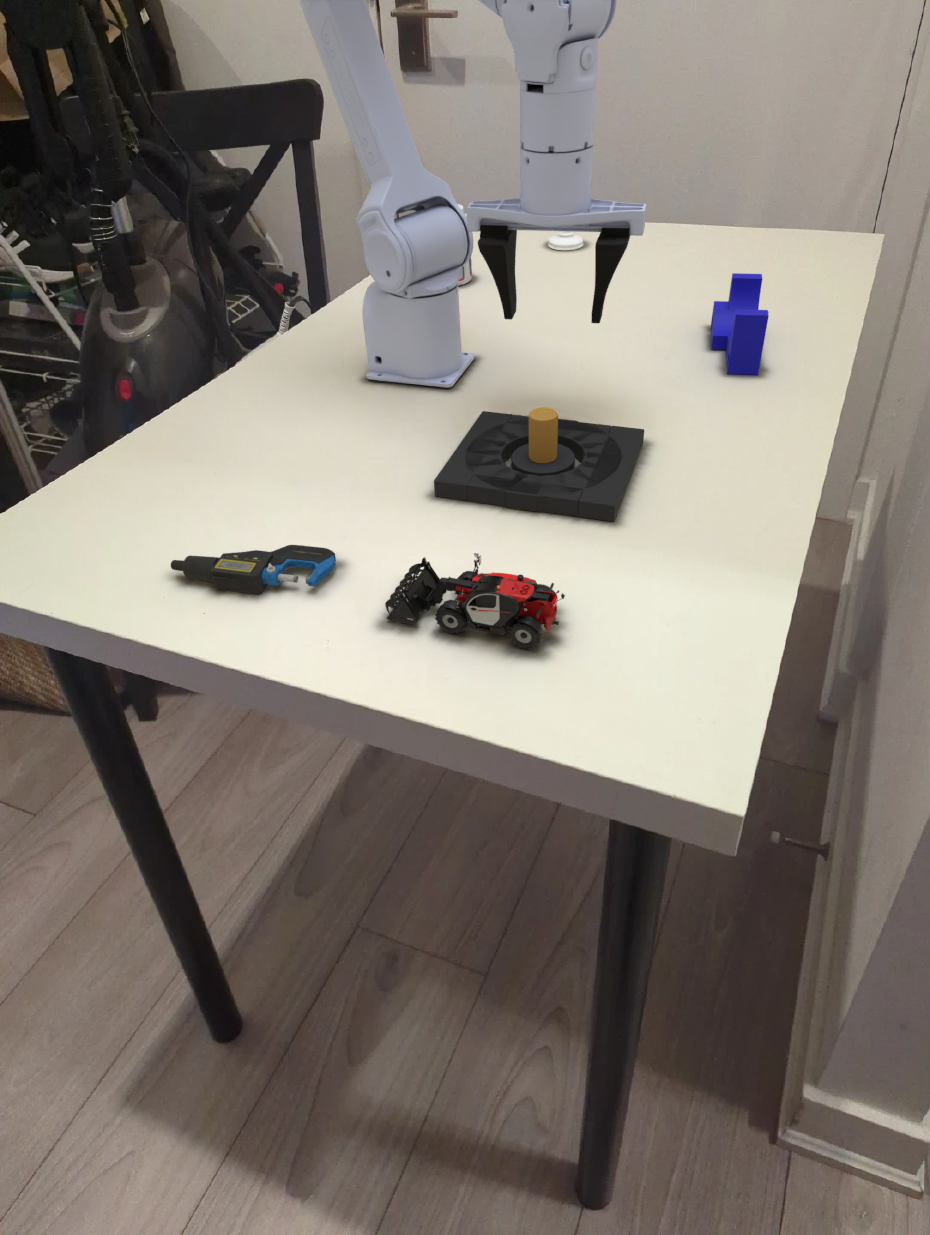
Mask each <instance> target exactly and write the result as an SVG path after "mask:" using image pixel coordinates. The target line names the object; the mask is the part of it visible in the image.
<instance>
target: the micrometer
mask: <svg viewBox="0 0 930 1235" xmlns="http://www.w3.org/2000/svg"><path fill="white" fill-rule="evenodd" d="M336 562H337V558H336V553H335V551H333V550H332V549H329V548H327V547H320V546H310V545H301V544H288V545H285V546H283V547H279V548H277V549H275V550H272V551H266V550H257V549H254V550H247V551H238V552H225V553H222V554H221V555H220V557H219V556H218V557H217V556H203V555H187V556H186V557H185V558H184V559H182V560H181V559H173V560H171V563H170V569H171V570H173V571H178V572H182V573H183V575H184V576H185V578H187V579H193V580H198V581H203V582H207V583H208V582H209V583H213V586H215V589H216V590H221V591H229V592H238V593H245V594H253V595H260V594H263V592H264V591H265V589H266V587H267V586H268V585H269V586H276V587H277V586H279V585H281V583H282V582H288V583H296V584H297V583H298V582H299V576H298V575H295V574H286V573H285V572H286V571H287V570H288V569H290V568H302V569H309V570H313V571H312V573H311V574H310V576H307V577H305V584H306V585H307V586H308V587H314V588H317V587H318V585H319V584H320V583H321V581H323V580H324V579H325V578H327V577H328V576H329V575H330V574H332V573H333V572H334V570H336V564H337V563H336Z"/></svg>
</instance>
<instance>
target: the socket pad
mask: <svg viewBox="0 0 930 1235" xmlns="http://www.w3.org/2000/svg"><path fill="white" fill-rule="evenodd" d="M644 438H645V429H644V428H639V427H638V428H637V427H630V426H629V427H628V426H619V425H610V424H601V423H593V422H584V421H578V420H574V419H566V418H558V438H557V444H561V445H564V446H566V447H568V448H569V449H570V450H571V451H572V452H573V453H574V456H575V459H577V460H579V461H580V462H581V463H580V464H578V465H577V466H575V467H574V469H573V470H570V471H567V472H563V473H560V474H557V475H544V476H538V475H530V474H523V473H520V472H518V471H515V470H513V469H511V467H510V466H508V465H507V464H506V463H505V462H506V461H507V460H508V459H511V456H512V454H513V452H514V451H515V450H516V449H517V448H519V447H521V446H523V445H526V444H529V415H522V414H521V415H520V414H512V413H505V412H497V411H486V410H483V411H481V413H480V414H479V416H477V418H476V419H475V421H474V423H473V424H472V426H471V427H470V428H469V430H468V431H467V433H465V436H464V437H463V439H462V440H461V441H460V442H459V444H458V446H457V447H456V449H455V450H454V451H453V452H452V454H451V455H450V457H449V458H448V460H447V461H446V462H445V464H444V466H443V467H442V468H441V470H440V471H439V472H438V474H437V476H436V477H435V479H433V487H434V488H433V489H434V497H439V498H444V499H453V500H459V501H466V502H467V501H468V502H473V503H479V504H485V505H493V506H500V507H504V508H508V509H509V508H510V509H514V510H515V509H517V510H522V511H529V512H537V513H538V512H540V513H547V514H548V513H551V514H556V515H564V516H571V517H579V518H587V519H593V520H599V521H607V522H615V520H616V517H617V514H618V512H619V509H620V506H621V504H622V501H623V498H624V497H625V494H626V490H627V488H628V486H629V482H630V480H631V478H632V475H633V472H634V470H635V466H636V463H637V461H638V459H639V456H640V453H641V452H642V449H643V445H644V440H645V439H644Z"/></svg>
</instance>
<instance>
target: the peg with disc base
mask: <svg viewBox="0 0 930 1235" xmlns="http://www.w3.org/2000/svg"><path fill="white" fill-rule="evenodd" d="M528 416H529V444H526V445H523V446H521V447H519V448H517V449H516V450H515V451H514V452H513V454H512V456H511V457H510V469H513V470H515V471H518V472H520V473H523V474H530V475H538V476H544V475H557V474H560V473H563V472H567V471H570V470H573V469H574V468H575V463H576V462H575V461H576V457H575V456H574V453H573V452H572V451H571V450H570V449H569V448H568V447H566V446H564V445H561V444H557V438H558V419H559V413H558V411H557V410H556V409H555V408H552V407H547V406H546V407H542V406H541V407H536V408H533V409H532V410H530V411H529V413H528Z"/></svg>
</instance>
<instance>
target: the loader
mask: <svg viewBox="0 0 930 1235" xmlns="http://www.w3.org/2000/svg"><path fill="white" fill-rule="evenodd" d="M473 556H474V557H475V558H476V559H473V563H474V567H473V570H465V571H463V572H462V573H461V574H460V575H459V576H457V578H455V577H451V576H448V577H442V576H441V577H439V575H438V574H437V572H436V571H435V570H434V568H433V567H432V565H431V562H430V561H427V558H426V556H424V557H423V558H422V559H421V562H420V563H419V562H418V563H415V564H413V565H412V566H410V567H409V568H408V572H406V573H405V574H404V577H403V579H401V580H400V582H399V584H398V586H396V587H395V589H394V592H392V593H391V594H390V597H389V599H387V600H386V602H385V609H386V611H387V613H388V615H387V617H386V620H389V621H392V620H393V621H396V622H400V623H402V624H407V625H414V624H415V623H416V622H417V621H418V620H419V617H420V614H421V613H422V612H428V611H430V610H431V607H432V606H433V607H436V605H440V604H441V603H442V602H443V603H442V604H441V605H440V606H439V607H438V608H437V610H436V613H435V618H434V621H436V625H438V628H439V629H442V631H443V632H447V633H448V634H452V635H456V634H460V633H462V632H463V631H465V630H466V628H467V626H468V629H471V630H476V631H479V632H486V633H489V634H495V635H501V636H503V635H504V634H506V631H508V632H507V634H506V635H508V640H510V641H511V644H514V645H515V647H519V649H525V650H533V649H534V648H536V647H538V645H539V644H540V642H541V641H542V636H543V634H542V632H543V628H544V629H545V632H546V633H547V632H548V631H550V629H551V628H552V627H553V626H554V625H555V626H559V624H560V620H556V617H557V613H558V605H557V604H558V602H559V601H561V600H564V599H565V597H566V594H564V593H563V592H562V593H561V595H560V599H559V596H558V594H559V593H560V590H557V591H556V592H555V590H554V589H553V588H554V585H555V583H554V582H551V584H550V586H549V585H546V584H542V583H538V582H537V581H536V579H532V578H530V577H526V576H524V574H512V573H505V572H490V573H489V572H487V573H484V572H480V573H479V568H480V566H481V564H482V555H479V553H477V552H474V553H473ZM422 568H423V569H422ZM447 592H454V594H455V595H457V597H456V598H455V599H454V600H453V599H448V600H444V599H443V597H444V595H445V594H446V593H447ZM443 600H444V601H443ZM389 608H391V609H392V610H391V611H390V609H389ZM525 609H526V610H525ZM542 625H543V627H542Z"/></svg>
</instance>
